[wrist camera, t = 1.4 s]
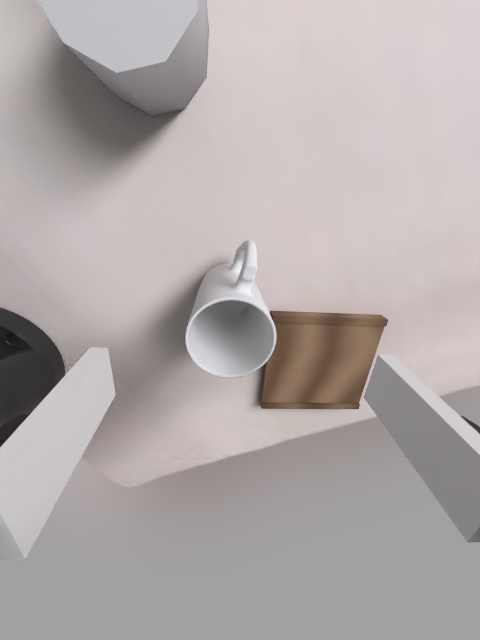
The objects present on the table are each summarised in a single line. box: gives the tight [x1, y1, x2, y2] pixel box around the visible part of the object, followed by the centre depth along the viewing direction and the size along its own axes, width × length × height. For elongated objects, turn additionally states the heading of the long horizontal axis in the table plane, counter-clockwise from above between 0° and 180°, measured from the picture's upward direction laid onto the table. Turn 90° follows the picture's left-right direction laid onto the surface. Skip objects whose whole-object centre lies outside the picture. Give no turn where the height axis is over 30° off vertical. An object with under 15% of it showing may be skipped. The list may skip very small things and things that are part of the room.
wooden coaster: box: [260, 311, 388, 409], centre depth 34 cm, size 14×14×2 cm
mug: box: [185, 240, 276, 378], centre depth 24 cm, size 10×7×12 cm, turn 163°
